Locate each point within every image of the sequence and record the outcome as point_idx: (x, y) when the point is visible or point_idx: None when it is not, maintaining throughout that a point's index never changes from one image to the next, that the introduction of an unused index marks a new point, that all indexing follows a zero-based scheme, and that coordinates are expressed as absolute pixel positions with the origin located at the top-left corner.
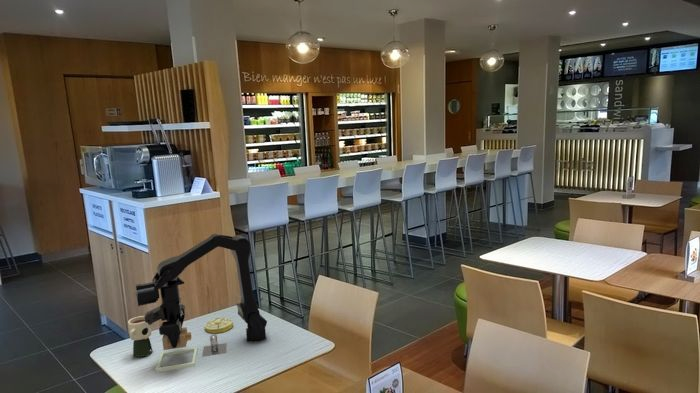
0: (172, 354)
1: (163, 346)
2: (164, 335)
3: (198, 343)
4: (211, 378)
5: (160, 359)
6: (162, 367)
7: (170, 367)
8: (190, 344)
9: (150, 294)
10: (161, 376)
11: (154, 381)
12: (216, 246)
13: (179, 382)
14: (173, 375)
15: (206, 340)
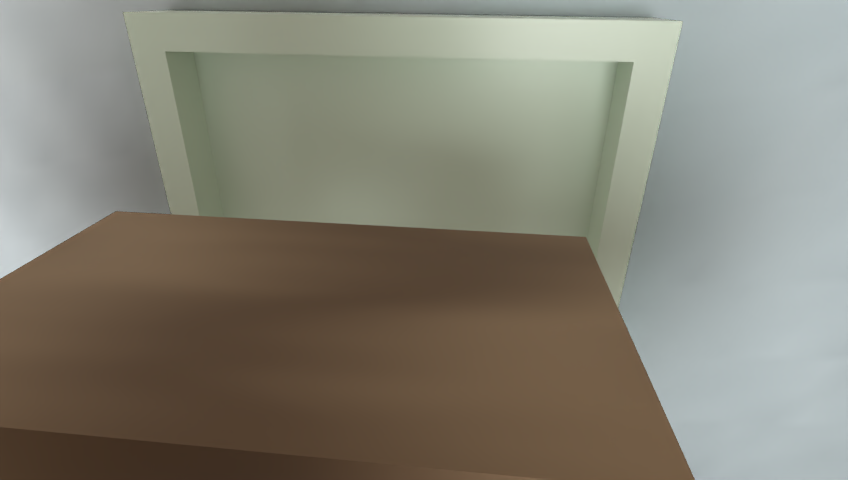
0: (598, 178)
1: (49, 259)
2: (94, 467)
3: (800, 411)
4: None
5: (419, 43)
6: (163, 105)
7: (170, 199)
8: (839, 342)
9: None
10: (120, 83)
11: (11, 13)
12: None
13: (5, 265)
14: (132, 207)
15: (820, 472)
